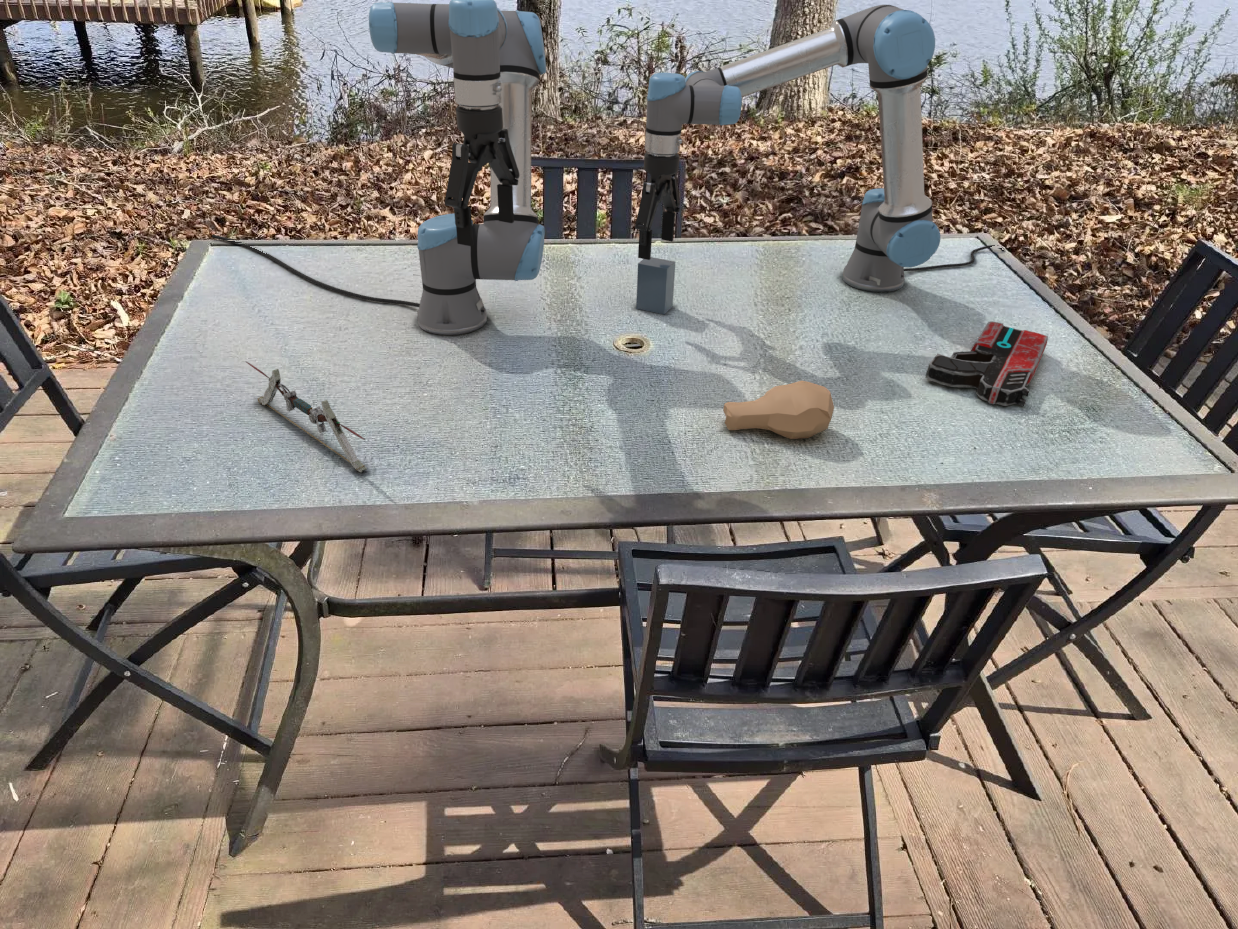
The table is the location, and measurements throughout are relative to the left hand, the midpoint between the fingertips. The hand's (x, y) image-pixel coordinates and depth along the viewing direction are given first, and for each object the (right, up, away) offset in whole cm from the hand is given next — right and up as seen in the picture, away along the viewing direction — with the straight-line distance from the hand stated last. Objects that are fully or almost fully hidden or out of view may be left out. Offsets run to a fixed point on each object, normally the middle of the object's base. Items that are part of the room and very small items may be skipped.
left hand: (486, 232), depth 154 cm
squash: (+52, -34, +7) cm, 63 cm away
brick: (+32, -4, +52) cm, 61 cm away
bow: (-32, -36, +2) cm, 48 cm away
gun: (+101, -21, +29) cm, 107 cm away
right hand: (+32, +8, +44) cm, 55 cm away
